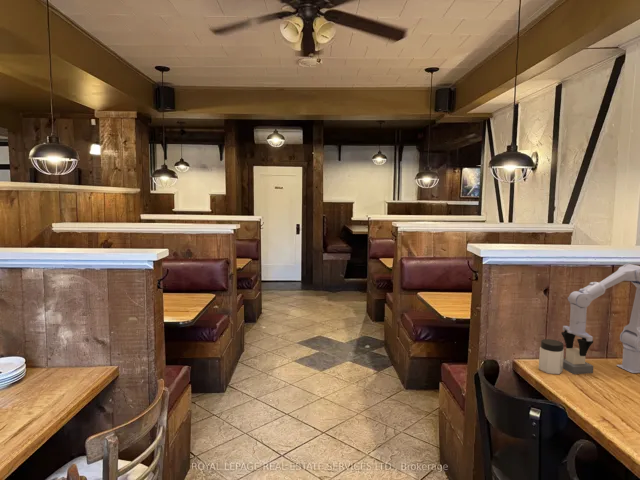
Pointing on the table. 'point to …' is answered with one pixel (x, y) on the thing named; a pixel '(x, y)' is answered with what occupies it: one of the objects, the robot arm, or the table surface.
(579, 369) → the charcoal base
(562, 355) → the jar
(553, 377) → the table surface
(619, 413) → the table surface
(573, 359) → the cream cube
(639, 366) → the robot arm
